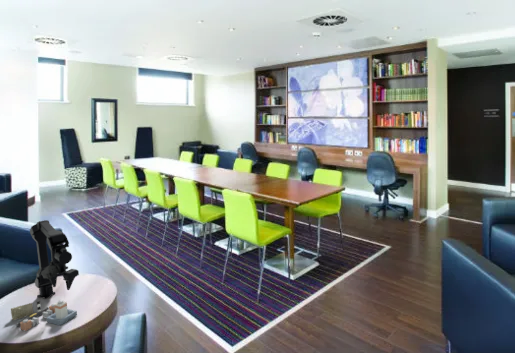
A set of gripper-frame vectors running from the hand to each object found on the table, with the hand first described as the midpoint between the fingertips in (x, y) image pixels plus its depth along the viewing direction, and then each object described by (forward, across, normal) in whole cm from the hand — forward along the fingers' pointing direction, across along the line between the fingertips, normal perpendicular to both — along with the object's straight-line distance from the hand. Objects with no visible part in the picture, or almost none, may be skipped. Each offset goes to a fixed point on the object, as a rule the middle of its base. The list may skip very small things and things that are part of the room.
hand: (61, 288), depth 180 cm
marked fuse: (+12, +4, -5) cm, 14 cm away
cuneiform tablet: (+13, -14, -9) cm, 21 cm away
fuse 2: (+12, -4, -2) cm, 13 cm away
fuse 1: (+12, -4, -17) cm, 21 cm away
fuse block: (+13, -6, -9) cm, 17 cm away
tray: (+12, +4, -5) cm, 14 cm away
